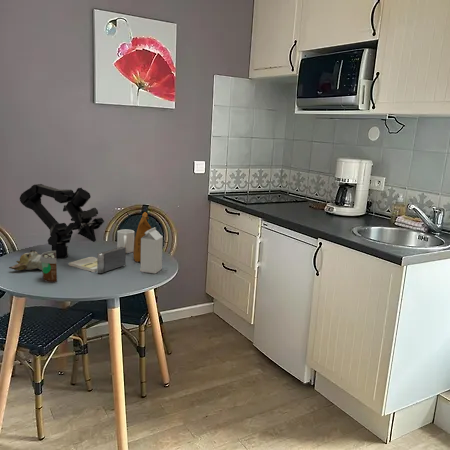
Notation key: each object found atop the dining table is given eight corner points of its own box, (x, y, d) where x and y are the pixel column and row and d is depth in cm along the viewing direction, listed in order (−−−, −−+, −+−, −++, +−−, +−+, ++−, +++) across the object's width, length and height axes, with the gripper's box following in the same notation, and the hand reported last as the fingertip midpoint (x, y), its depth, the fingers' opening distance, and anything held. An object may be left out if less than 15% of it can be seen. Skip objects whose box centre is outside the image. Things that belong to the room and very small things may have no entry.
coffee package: (154, 255, 224) (155, 211, 220) (154, 262, 212) (155, 216, 208) (133, 255, 223) (134, 211, 218) (132, 262, 211) (133, 216, 206)
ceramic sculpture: (45, 252, 188) (6, 254, 186) (46, 273, 189) (9, 274, 188) (51, 246, 198) (15, 247, 196) (53, 265, 200) (17, 267, 198)
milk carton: (161, 269, 203) (163, 227, 199) (155, 274, 196) (156, 231, 193) (147, 267, 205) (148, 226, 201) (140, 271, 198) (140, 229, 194)
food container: (40, 274, 188) (39, 250, 186) (56, 273, 190) (55, 250, 188) (40, 284, 177) (39, 259, 175) (56, 283, 179) (56, 258, 177)
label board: (68, 265, 201) (68, 261, 201) (90, 259, 213) (90, 255, 212) (93, 272, 194) (93, 268, 194) (114, 265, 205) (115, 261, 205)
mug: (133, 255, 222) (133, 235, 220) (115, 255, 221) (115, 234, 219) (134, 249, 234) (134, 229, 232) (118, 248, 233) (118, 229, 230)
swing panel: (100, 273, 192) (100, 255, 190) (95, 272, 193) (95, 253, 191) (125, 265, 205) (125, 247, 203) (121, 263, 206) (121, 246, 205)
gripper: (68, 204, 192) (88, 234, 189) (101, 200, 208) (119, 227, 205) (56, 220, 197) (75, 249, 194) (88, 214, 213) (106, 241, 210)
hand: (94, 241), depth 201 cm, fingers closed
